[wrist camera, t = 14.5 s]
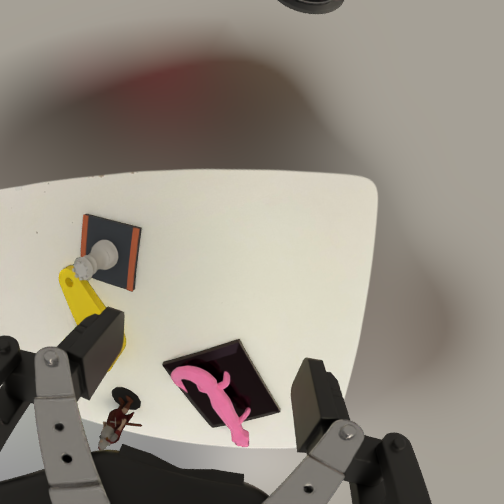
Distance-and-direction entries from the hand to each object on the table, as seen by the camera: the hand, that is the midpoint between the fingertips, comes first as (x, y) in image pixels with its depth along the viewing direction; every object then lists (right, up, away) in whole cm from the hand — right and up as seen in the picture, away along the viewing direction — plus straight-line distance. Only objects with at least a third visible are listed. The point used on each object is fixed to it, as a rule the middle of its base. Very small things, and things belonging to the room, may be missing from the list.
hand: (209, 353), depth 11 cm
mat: (-20, +4, +28) cm, 35 cm away
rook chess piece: (-20, +4, +28) cm, 35 cm away
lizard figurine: (-3, -21, +36) cm, 41 cm away
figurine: (-24, -26, +38) cm, 52 cm away
